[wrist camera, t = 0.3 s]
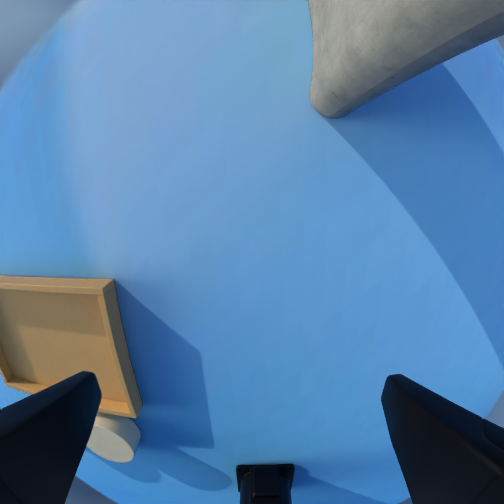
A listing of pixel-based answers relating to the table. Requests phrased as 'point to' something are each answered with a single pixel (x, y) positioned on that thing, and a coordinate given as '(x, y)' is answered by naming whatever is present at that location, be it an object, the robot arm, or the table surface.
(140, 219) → the table surface
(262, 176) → the table surface
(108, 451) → the white short cylinder
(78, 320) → the serving tray
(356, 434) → the table surface
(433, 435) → the robot arm
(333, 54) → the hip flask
